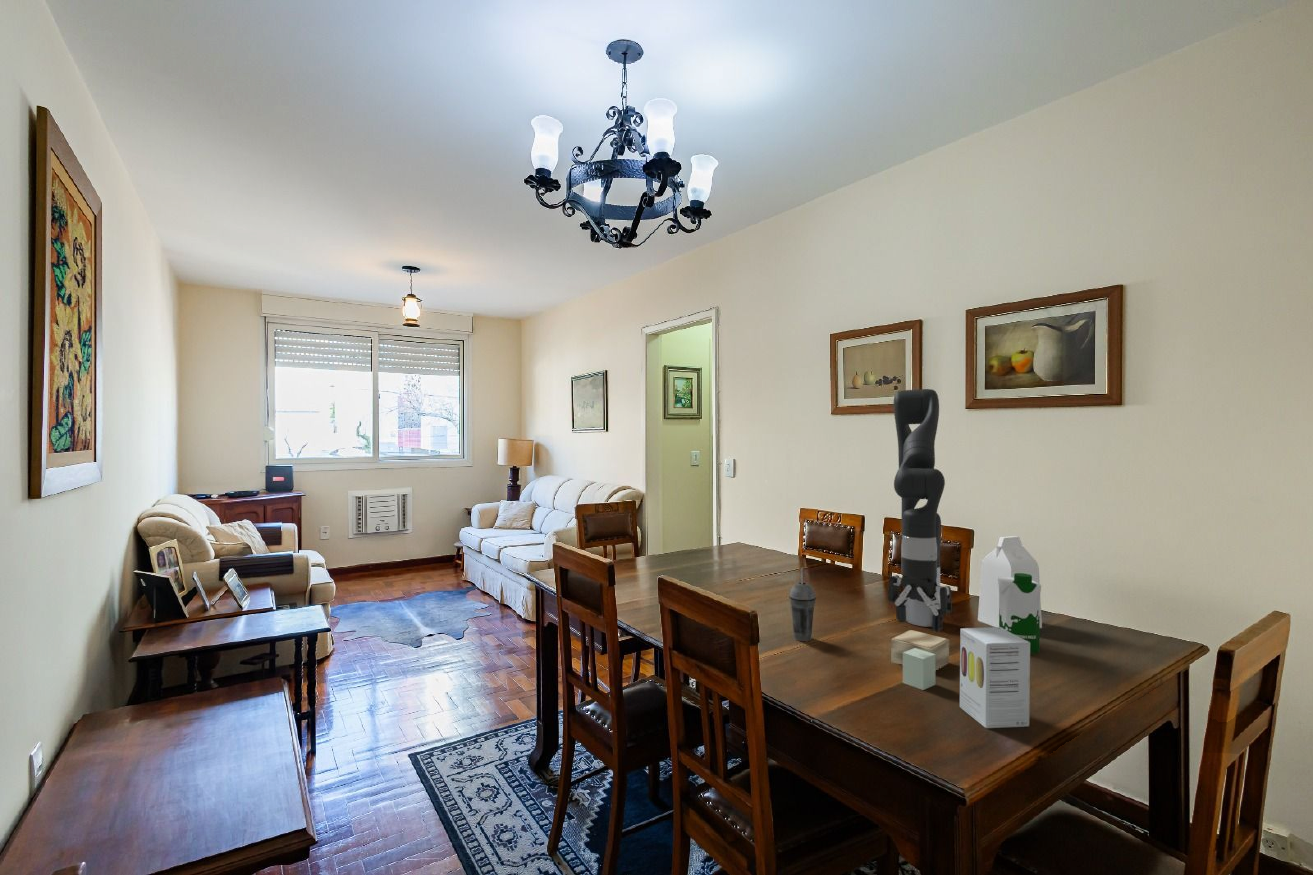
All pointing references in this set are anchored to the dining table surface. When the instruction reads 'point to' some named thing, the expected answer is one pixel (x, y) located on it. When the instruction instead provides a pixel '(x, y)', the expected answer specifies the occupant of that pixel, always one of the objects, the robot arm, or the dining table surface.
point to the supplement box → (995, 677)
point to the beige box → (920, 647)
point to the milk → (1003, 575)
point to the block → (919, 668)
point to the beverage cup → (802, 609)
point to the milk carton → (1020, 608)
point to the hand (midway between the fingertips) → (918, 626)
